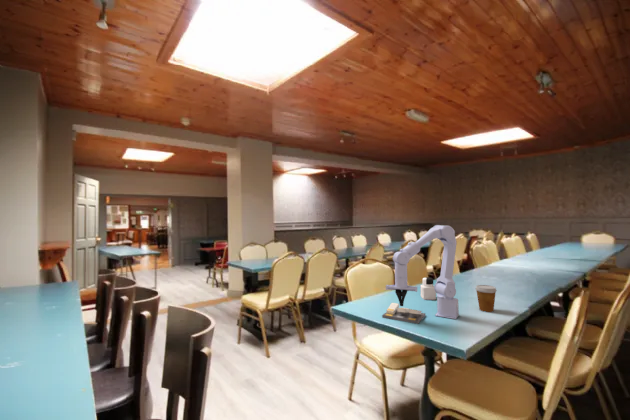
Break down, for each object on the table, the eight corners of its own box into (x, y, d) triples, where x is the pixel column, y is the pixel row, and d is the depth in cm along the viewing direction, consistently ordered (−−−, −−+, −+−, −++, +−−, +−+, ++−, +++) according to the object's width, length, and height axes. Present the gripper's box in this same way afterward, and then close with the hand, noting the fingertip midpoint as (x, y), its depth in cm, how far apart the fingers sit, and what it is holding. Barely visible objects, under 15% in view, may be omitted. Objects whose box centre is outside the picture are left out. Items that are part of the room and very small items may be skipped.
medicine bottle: (432, 296, 187) (432, 276, 187) (436, 299, 180) (435, 279, 180) (420, 296, 187) (420, 276, 188) (423, 299, 180) (423, 279, 181)
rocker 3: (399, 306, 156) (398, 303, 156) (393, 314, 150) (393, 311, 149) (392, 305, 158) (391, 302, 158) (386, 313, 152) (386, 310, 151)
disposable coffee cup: (499, 309, 159) (498, 286, 159) (494, 314, 152) (493, 289, 152) (479, 306, 165) (478, 283, 166) (473, 310, 159) (472, 287, 159)
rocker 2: (409, 312, 153) (410, 308, 153) (404, 312, 146) (405, 308, 147) (402, 311, 155) (402, 307, 155) (397, 311, 148) (397, 307, 149)
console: (425, 315, 151) (425, 311, 151) (418, 323, 141) (417, 319, 141) (391, 310, 161) (391, 306, 161) (382, 317, 150) (382, 313, 150)
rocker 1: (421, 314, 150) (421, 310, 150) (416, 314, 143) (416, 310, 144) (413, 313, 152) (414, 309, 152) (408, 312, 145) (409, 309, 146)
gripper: (417, 276, 150) (417, 304, 149) (386, 274, 155) (387, 302, 155) (416, 279, 143) (417, 308, 143) (384, 277, 148) (385, 305, 148)
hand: (401, 305), depth 148 cm, fingers closed
